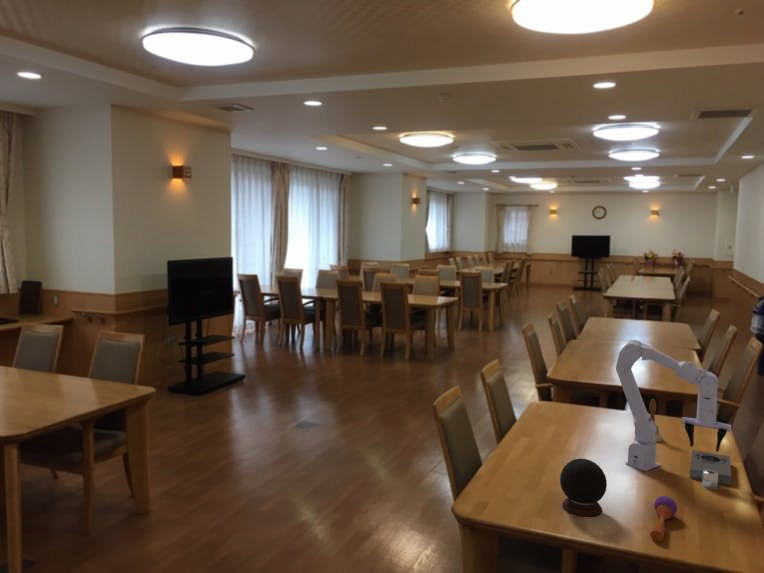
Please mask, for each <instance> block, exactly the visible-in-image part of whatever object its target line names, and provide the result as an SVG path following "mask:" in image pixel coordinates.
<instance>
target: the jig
mask: <svg viewBox="0 0 764 573" xmlns="http://www.w3.org/2000/svg"><path fill="white" fill-rule="evenodd" d="M706 469H708V470H713V471H716V472H718V484H722V485H726V486H727V485H728V486H731V485H732V465H731V455H724V454H719V453H712V452H707V451H700V450H694V449H692V450H691V458H690V468H689V478H690V479H695V480H702V478H703V470H706Z"/></svg>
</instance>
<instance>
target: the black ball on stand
mask: <svg viewBox="0 0 764 573" xmlns="http://www.w3.org/2000/svg"><path fill="white" fill-rule="evenodd" d="M607 482H608V481H607V478H606V474H605V472H604V470H603V469H602V468H601V467H600V465H598V464H597V463H596V462H595V461H592V460H590V459H587V458H576V459H572V460H570V461H568V462H567V463H566V464H565V465H564V466H563V468H562V469H561V473H560V477H559V483H560V488H561V490H562V492H563V494H564V495H565V497H566V498H565V499H564V500H563V501H562V506H563V507H562V509H563V510H564V511H565V512H566V511H567V512H566V513H567V514H569V515H572V514H573V515H572V516H574V515H576V516H575V517H578V516H579V517H578V518H584V517H589V518H588V519H590V518H591V517H593V518H597V516H598V517H600V516H601V515H602V513H603V508H602V506H601V505H600V503H599V501H600V500H601V499H602V498H603V497H604V496H605V494H606V492H607V487H608V486H607V485H608V484H607Z"/></svg>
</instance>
